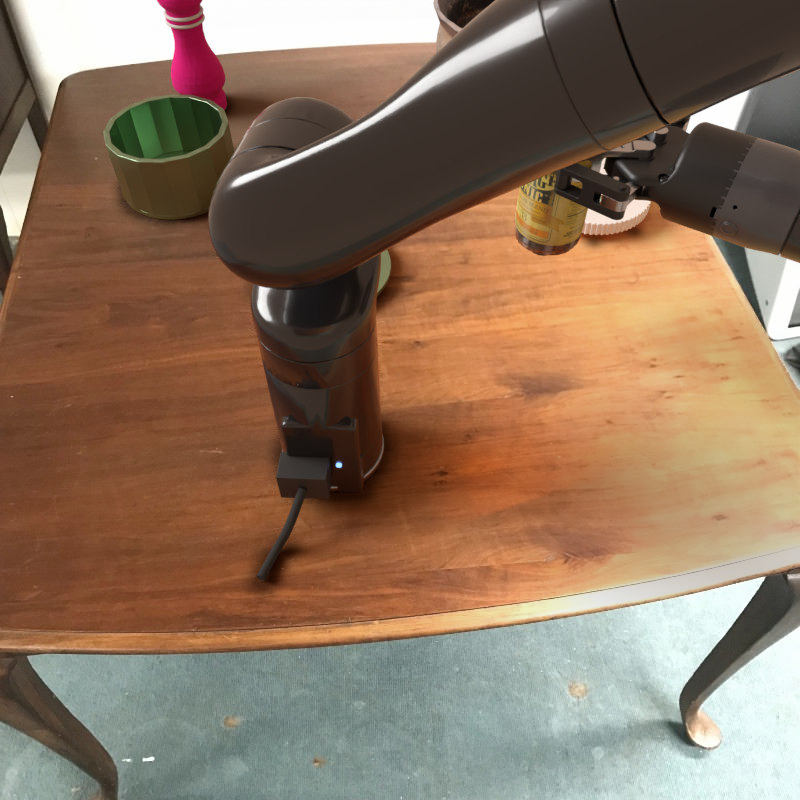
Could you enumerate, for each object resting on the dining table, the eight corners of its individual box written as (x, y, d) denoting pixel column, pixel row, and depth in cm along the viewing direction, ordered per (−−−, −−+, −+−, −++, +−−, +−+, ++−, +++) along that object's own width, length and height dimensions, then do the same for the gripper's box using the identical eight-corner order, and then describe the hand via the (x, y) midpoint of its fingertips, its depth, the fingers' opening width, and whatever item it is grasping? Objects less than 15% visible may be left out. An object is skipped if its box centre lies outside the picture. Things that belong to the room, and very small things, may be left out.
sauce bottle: (501, 226, 73) (525, 9, 57) (560, 211, 74) (599, -5, 59) (532, 269, 69) (568, 48, 53) (594, 253, 70) (646, 33, 55)
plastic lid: (636, 170, 99) (640, 153, 97) (657, 241, 90) (663, 224, 88) (526, 171, 99) (528, 153, 97) (537, 242, 90) (539, 224, 88)
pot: (226, 221, 93) (213, 163, 87) (109, 218, 94) (87, 160, 88) (248, 152, 102) (237, 95, 96) (141, 150, 103) (123, 93, 97)
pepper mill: (176, 98, 111) (137, -53, 95) (226, 90, 112) (196, -60, 97) (182, 125, 107) (143, -29, 91) (234, 116, 108) (204, -37, 92)
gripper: (786, 99, 59) (583, 42, 65) (723, 197, 51) (500, 122, 57) (752, 183, 64) (569, 124, 70) (691, 282, 57) (492, 206, 63)
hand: (539, 123), depth 64 cm, fingers closed on sauce bottle, 6 cm apart
